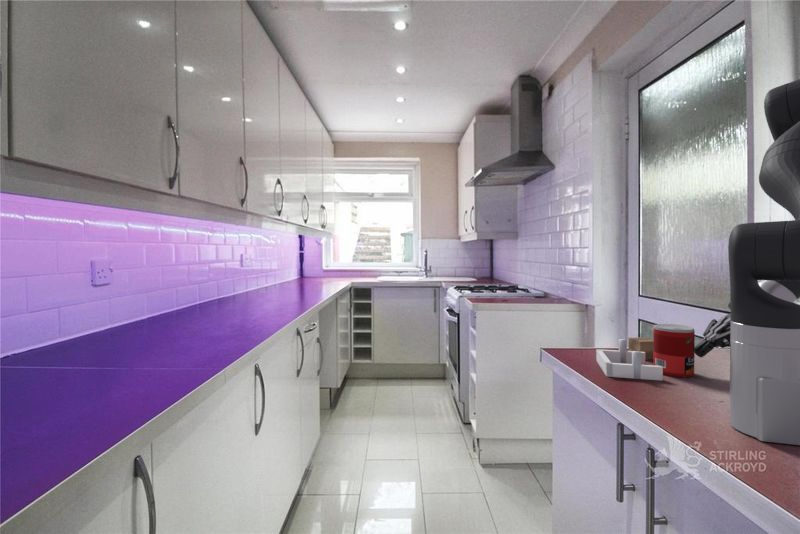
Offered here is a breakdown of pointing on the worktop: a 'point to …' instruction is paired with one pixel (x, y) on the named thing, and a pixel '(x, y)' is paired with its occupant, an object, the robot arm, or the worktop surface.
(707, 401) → the worktop surface
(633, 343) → the walnut block
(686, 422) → the worktop surface
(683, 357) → the canned food
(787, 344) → the robot arm
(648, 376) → the tray
